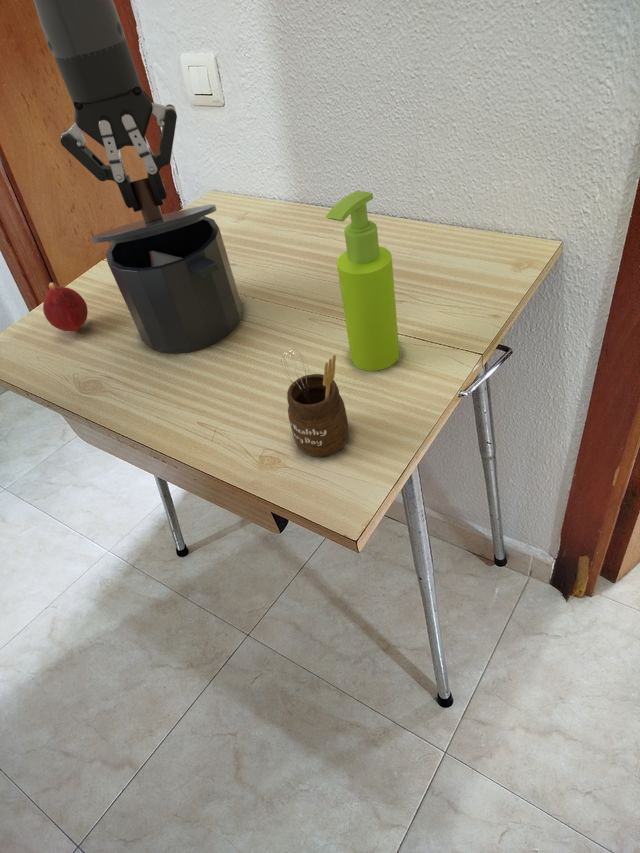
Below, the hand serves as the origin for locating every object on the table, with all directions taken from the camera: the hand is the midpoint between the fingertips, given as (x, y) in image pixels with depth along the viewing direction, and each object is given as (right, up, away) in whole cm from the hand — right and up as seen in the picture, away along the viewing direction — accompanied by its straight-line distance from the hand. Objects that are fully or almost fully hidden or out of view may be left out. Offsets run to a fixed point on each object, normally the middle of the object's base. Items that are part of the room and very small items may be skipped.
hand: (148, 205), depth 72 cm
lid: (+1, -2, +1) cm, 2 cm away
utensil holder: (+21, -29, -9) cm, 37 cm away
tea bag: (+3, -12, +12) cm, 17 cm away
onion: (-15, -13, +15) cm, 25 cm away
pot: (+3, -12, +12) cm, 17 cm away
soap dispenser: (+27, -19, 0) cm, 33 cm away
